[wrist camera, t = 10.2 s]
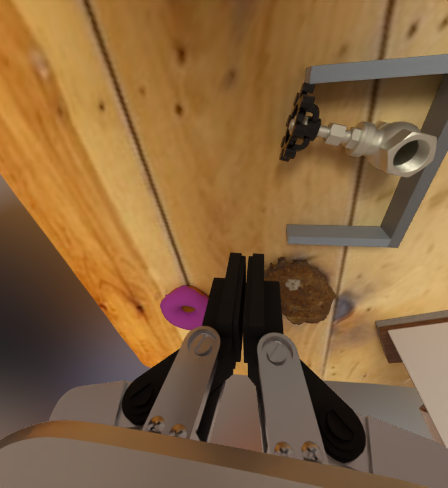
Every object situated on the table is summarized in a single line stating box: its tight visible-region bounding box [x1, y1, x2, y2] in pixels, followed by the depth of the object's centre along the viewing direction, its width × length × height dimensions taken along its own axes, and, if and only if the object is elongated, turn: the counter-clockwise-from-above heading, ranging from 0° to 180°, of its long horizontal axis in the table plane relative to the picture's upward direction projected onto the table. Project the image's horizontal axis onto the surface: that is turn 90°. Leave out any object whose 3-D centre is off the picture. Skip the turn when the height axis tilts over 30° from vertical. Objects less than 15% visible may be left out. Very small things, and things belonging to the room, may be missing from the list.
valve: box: [279, 82, 437, 177], centre depth 21 cm, size 7×7×12 cm
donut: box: [160, 286, 209, 330], centre depth 42 cm, size 10×10×5 cm
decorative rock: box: [264, 257, 336, 325], centre depth 36 cm, size 11×4×15 cm
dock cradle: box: [286, 54, 448, 248], centre depth 24 cm, size 18×13×3 cm
